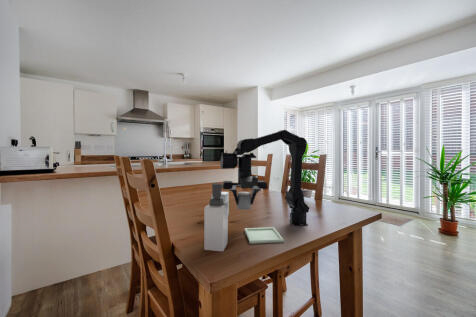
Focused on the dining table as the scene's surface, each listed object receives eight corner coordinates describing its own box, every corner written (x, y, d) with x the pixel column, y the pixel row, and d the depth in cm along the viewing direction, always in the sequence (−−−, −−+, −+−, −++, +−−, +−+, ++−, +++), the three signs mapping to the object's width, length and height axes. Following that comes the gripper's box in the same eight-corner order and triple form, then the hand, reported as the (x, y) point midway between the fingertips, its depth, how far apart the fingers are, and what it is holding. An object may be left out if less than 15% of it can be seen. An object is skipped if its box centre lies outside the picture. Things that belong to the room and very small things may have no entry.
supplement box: (225, 220, 102) (225, 194, 102) (210, 219, 104) (210, 193, 103) (229, 216, 109) (229, 191, 109) (215, 215, 111) (215, 191, 110)
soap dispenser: (228, 240, 79) (229, 181, 79) (222, 251, 71) (223, 185, 70) (212, 239, 80) (212, 181, 80) (204, 249, 72) (204, 184, 71)
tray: (273, 229, 91) (273, 227, 91) (283, 242, 78) (283, 239, 78) (244, 230, 89) (244, 228, 89) (249, 243, 77) (249, 240, 77)
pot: (249, 205, 96) (249, 191, 96) (252, 209, 90) (252, 193, 90) (236, 206, 95) (236, 191, 95) (237, 209, 89) (237, 194, 89)
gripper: (223, 170, 82) (223, 210, 82) (271, 170, 84) (270, 209, 85) (222, 168, 93) (222, 203, 93) (264, 168, 95) (263, 202, 96)
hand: (244, 204), depth 91 cm, fingers closed on pot, 6 cm apart
